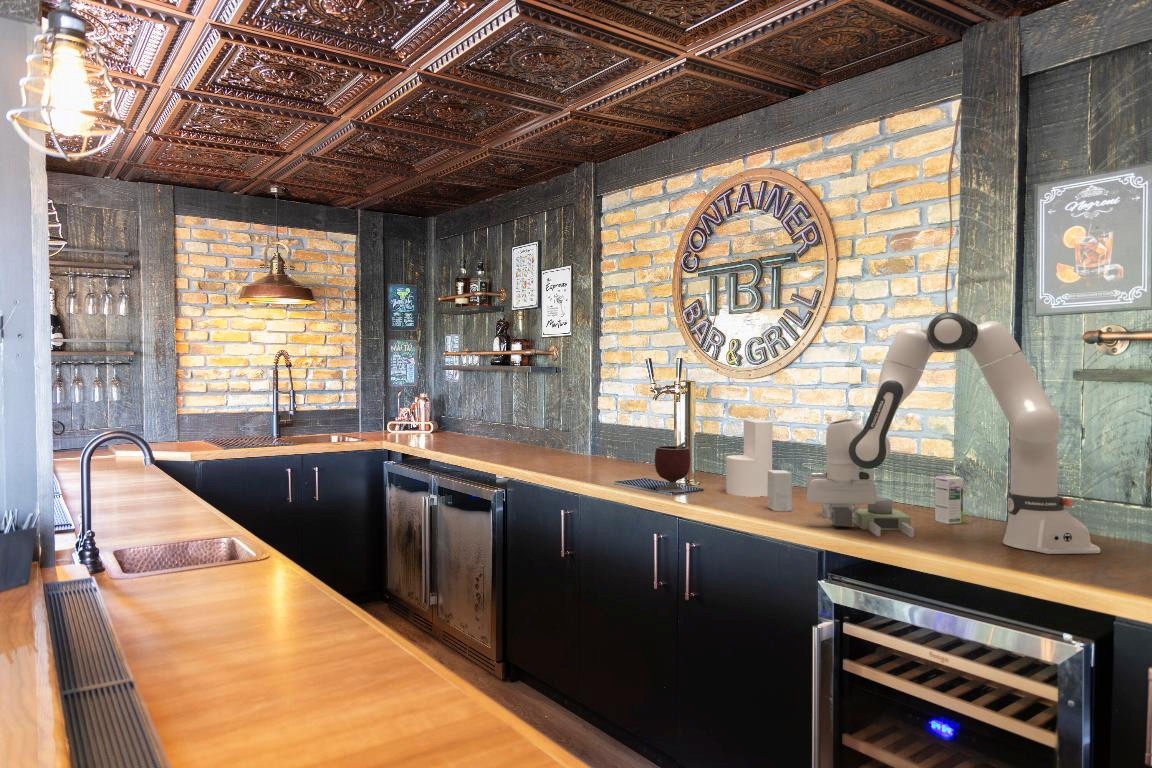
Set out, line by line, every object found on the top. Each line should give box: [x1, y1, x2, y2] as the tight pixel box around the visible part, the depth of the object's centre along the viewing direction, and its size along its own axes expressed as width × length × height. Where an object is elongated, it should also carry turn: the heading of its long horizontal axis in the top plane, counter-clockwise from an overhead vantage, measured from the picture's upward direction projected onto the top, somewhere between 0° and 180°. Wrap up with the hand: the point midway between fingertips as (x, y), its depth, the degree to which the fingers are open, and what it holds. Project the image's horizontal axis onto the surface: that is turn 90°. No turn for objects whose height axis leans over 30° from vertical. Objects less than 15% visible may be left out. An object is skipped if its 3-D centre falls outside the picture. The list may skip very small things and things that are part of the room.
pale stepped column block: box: [725, 419, 774, 498], centre depth 293 cm, size 17×17×28 cm
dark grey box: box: [830, 507, 853, 527], centre depth 230 cm, size 5×7×4 cm
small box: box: [766, 469, 793, 512], centre depth 259 cm, size 8×6×13 cm
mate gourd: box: [654, 441, 691, 492], centre depth 298 cm, size 16×14×20 cm
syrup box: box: [934, 475, 964, 525], centre depth 238 cm, size 6×6×14 cm
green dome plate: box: [852, 496, 915, 538], centre depth 228 cm, size 14×21×8 cm, turn 173°
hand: (841, 518), depth 230 cm, fingers closed on dark grey box, 5 cm apart
